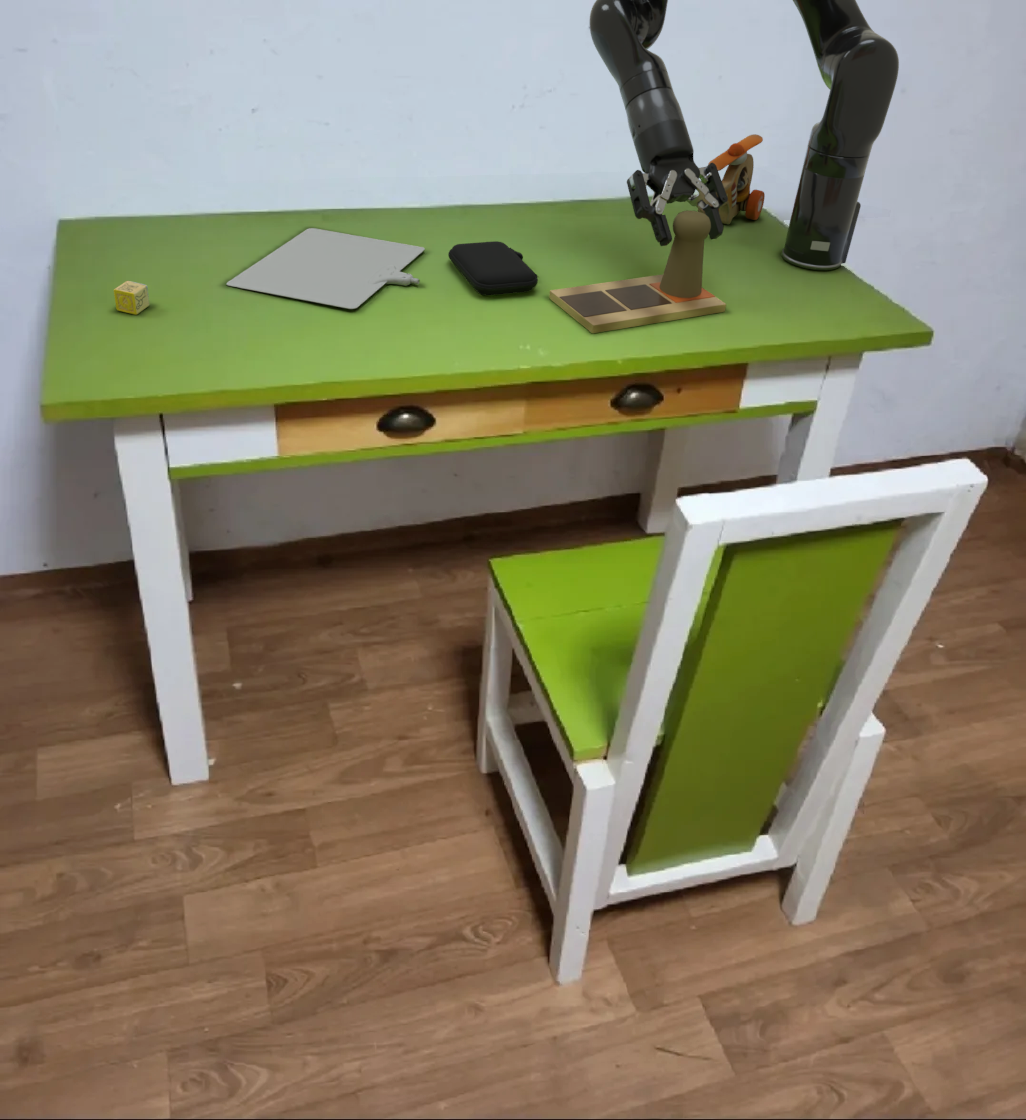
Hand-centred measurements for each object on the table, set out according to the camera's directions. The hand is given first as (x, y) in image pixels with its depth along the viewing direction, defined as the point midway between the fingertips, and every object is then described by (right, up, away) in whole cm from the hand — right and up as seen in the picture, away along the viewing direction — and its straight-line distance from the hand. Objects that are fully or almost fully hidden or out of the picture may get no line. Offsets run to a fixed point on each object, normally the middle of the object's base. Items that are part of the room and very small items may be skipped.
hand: (692, 240), depth 148 cm
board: (-7, -8, +2) cm, 12 cm away
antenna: (-49, -3, +5) cm, 50 cm away
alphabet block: (-74, -12, -10) cm, 76 cm away
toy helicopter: (+10, +12, +32) cm, 36 cm away
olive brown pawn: (-1, -6, +5) cm, 8 cm away
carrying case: (-28, -4, +7) cm, 29 cm away
